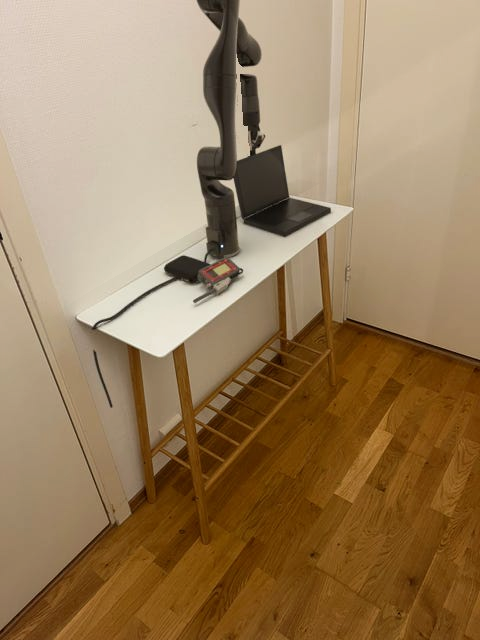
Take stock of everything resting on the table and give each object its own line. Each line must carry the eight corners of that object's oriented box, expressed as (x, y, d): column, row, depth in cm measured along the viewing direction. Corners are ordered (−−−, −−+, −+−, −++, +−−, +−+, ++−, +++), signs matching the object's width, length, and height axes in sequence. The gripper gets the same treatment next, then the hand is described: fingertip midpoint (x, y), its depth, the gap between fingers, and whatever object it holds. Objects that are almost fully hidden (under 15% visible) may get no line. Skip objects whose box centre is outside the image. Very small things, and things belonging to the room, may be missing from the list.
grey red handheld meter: (249, 272, 131) (196, 301, 120) (246, 282, 134) (194, 311, 123) (229, 253, 133) (176, 280, 123) (226, 263, 137) (174, 290, 126)
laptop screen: (281, 144, 169) (279, 145, 170) (231, 163, 155) (230, 163, 156) (289, 197, 179) (287, 197, 179) (243, 218, 165) (241, 218, 165)
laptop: (330, 212, 167) (330, 207, 166) (284, 236, 153) (284, 231, 152) (289, 201, 180) (289, 197, 179) (243, 223, 166) (243, 218, 165)
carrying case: (159, 274, 139) (192, 287, 130) (157, 266, 137) (191, 278, 129) (184, 260, 145) (217, 272, 137) (182, 252, 143) (216, 263, 135)
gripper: (227, 110, 158) (232, 160, 168) (254, 112, 150) (258, 165, 160) (242, 105, 162) (246, 155, 172) (270, 108, 154) (272, 159, 164)
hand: (252, 159), depth 166 cm, fingers closed
